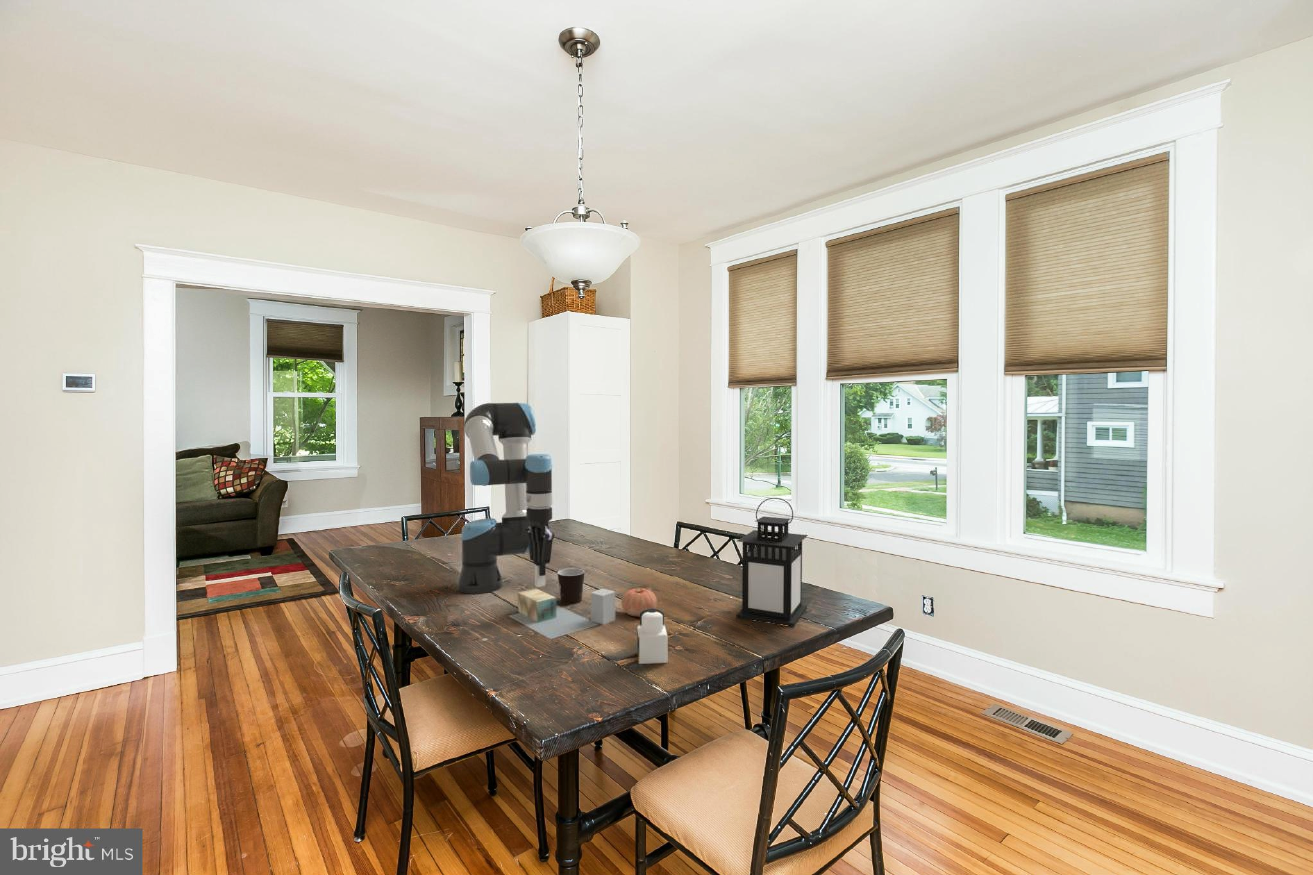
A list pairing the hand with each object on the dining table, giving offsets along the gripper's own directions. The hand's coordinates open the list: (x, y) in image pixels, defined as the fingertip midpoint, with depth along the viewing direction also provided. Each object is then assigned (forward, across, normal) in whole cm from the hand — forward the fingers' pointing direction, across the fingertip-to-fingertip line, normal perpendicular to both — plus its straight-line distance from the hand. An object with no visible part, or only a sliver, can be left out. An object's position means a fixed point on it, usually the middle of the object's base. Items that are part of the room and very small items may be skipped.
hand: (540, 585), depth 181 cm
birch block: (+6, +4, 0) cm, 7 cm away
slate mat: (+10, +5, +1) cm, 11 cm away
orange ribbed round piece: (+10, +17, +24) cm, 31 cm away
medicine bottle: (+10, +43, +6) cm, 45 cm away
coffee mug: (+10, -7, +16) cm, 20 cm away
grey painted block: (+10, +15, +12) cm, 22 cm away
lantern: (+10, +43, +55) cm, 71 cm away
